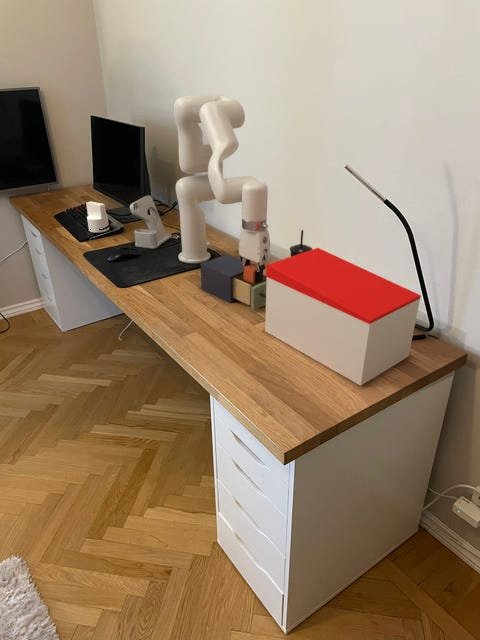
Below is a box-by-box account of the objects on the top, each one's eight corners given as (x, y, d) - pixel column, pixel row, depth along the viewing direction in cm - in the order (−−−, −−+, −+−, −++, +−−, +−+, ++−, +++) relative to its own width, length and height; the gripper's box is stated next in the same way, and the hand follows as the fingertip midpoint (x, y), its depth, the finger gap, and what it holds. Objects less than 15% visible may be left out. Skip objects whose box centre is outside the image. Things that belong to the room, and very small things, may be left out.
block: (243, 279, 157) (243, 266, 154) (253, 275, 159) (253, 263, 157) (253, 283, 154) (253, 270, 152) (262, 279, 156) (263, 267, 154)
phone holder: (154, 249, 202) (150, 206, 193) (133, 246, 204) (128, 203, 196) (172, 235, 216) (169, 195, 207) (152, 233, 219) (148, 193, 210)
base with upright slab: (113, 228, 225) (109, 202, 219) (99, 233, 218) (95, 207, 212) (99, 225, 229) (95, 199, 223) (84, 230, 222) (80, 204, 216)
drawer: (291, 304, 156) (292, 283, 152) (266, 316, 149) (267, 294, 145) (249, 285, 168) (249, 265, 164) (224, 296, 161) (224, 275, 157)
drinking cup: (295, 291, 166) (299, 235, 156) (283, 283, 172) (286, 228, 162) (314, 287, 169) (318, 232, 159) (301, 279, 175) (305, 225, 165)
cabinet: (258, 291, 166) (258, 265, 162) (230, 302, 159) (230, 276, 154) (228, 278, 176) (228, 254, 171) (201, 288, 168) (200, 263, 164)
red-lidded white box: (312, 309, 154) (317, 247, 144) (408, 356, 131) (422, 285, 121) (263, 330, 143) (265, 264, 133) (360, 385, 119) (371, 310, 109)
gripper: (283, 228, 144) (280, 284, 153) (243, 215, 155) (243, 268, 164) (265, 233, 140) (264, 291, 149) (226, 220, 151) (226, 274, 159)
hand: (253, 278), depth 156 cm, fingers closed on block, 4 cm apart
